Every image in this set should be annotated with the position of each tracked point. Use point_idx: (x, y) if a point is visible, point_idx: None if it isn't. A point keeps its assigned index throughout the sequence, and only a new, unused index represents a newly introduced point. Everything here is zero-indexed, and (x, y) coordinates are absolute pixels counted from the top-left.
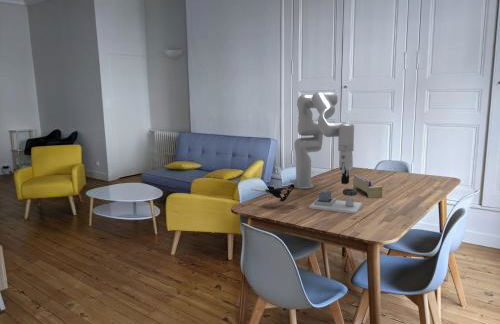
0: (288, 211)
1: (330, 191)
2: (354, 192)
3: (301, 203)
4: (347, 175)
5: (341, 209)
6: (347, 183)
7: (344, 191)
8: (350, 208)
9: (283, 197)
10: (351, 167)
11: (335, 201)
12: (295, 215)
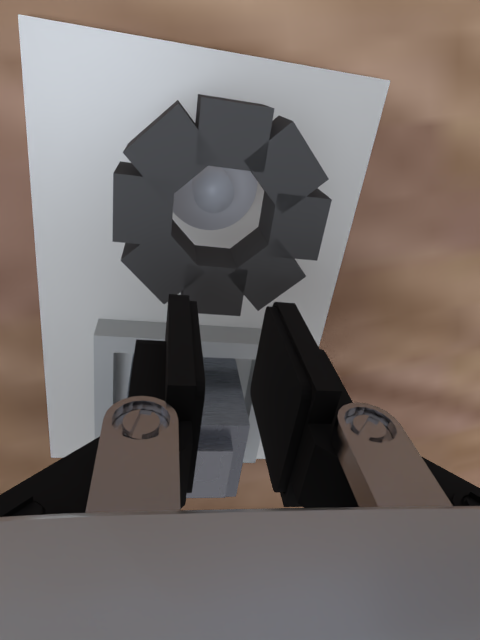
0: None
1: None
2: (299, 135)
3: (183, 509)
4: (191, 417)
5: (344, 233)
6: (294, 306)
7: (289, 286)
8: None
9: None
10: (255, 594)
11: (107, 321)
12: None
